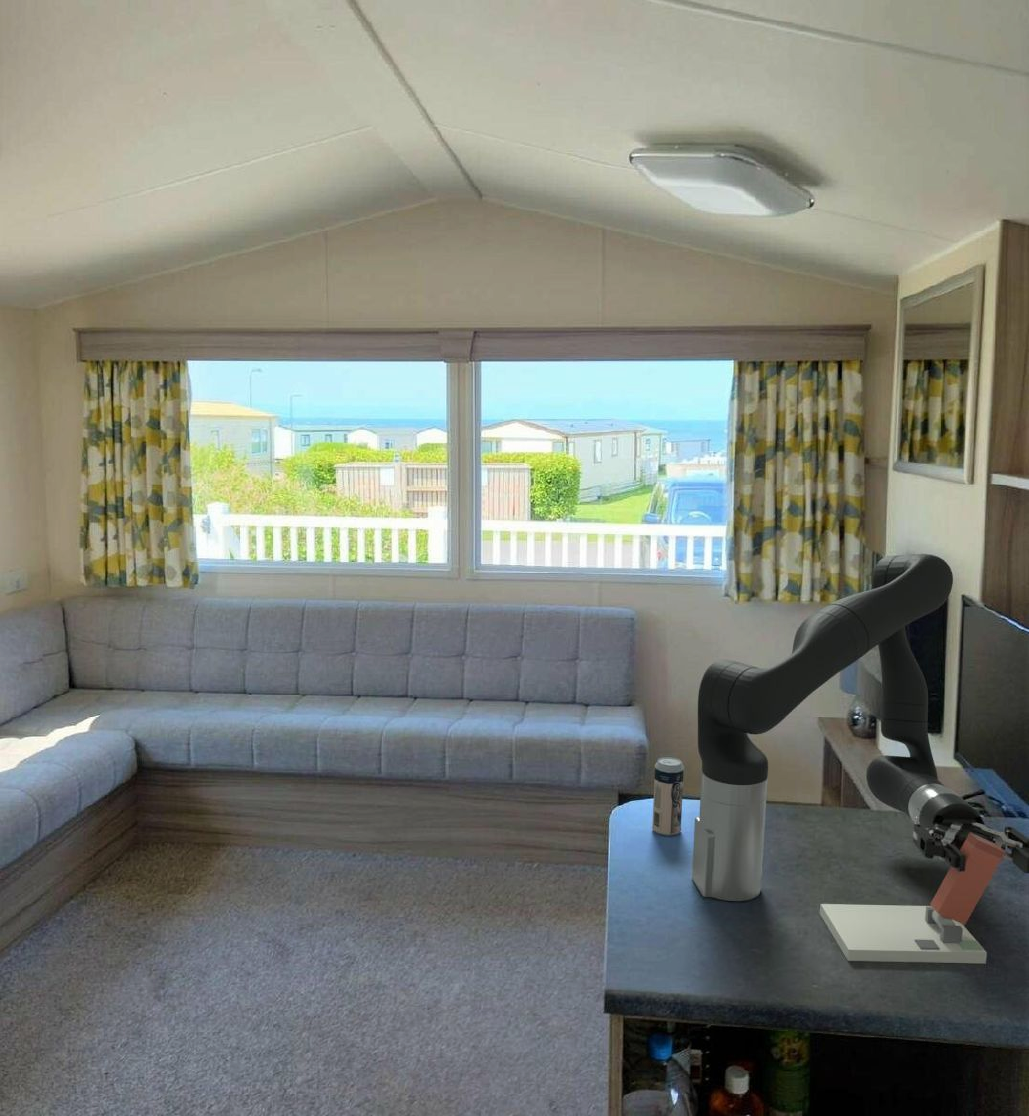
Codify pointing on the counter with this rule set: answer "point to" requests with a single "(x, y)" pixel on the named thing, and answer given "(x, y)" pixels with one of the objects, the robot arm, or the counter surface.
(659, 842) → the counter surface
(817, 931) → the counter surface
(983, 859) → the lever
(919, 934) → the breaker base
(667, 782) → the beer can
